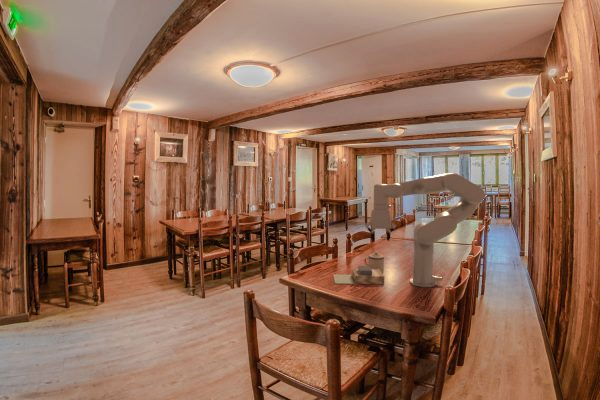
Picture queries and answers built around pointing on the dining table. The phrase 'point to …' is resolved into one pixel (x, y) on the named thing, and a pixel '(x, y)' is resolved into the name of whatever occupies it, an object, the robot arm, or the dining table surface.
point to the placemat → (343, 279)
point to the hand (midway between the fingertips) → (380, 240)
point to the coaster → (364, 270)
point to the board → (368, 277)
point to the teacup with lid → (376, 261)
